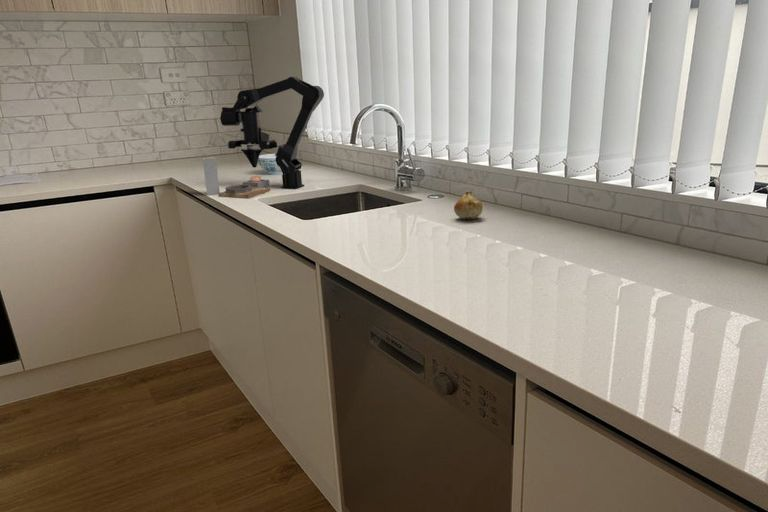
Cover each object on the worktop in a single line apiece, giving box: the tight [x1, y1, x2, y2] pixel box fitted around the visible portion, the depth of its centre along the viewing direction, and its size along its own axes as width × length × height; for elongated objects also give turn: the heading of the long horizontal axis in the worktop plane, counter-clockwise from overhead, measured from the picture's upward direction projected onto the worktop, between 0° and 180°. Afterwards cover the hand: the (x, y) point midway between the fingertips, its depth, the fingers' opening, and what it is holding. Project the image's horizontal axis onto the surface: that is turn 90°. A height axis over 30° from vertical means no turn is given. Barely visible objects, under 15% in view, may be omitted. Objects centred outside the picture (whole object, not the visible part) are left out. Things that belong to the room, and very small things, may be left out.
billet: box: [202, 156, 221, 196], centre depth 208 cm, size 4×4×13 cm
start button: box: [249, 175, 262, 182], centre depth 219 cm, size 4×4×2 cm
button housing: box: [242, 178, 270, 188], centre depth 219 cm, size 7×7×2 cm
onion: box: [453, 189, 483, 220], centre depth 159 cm, size 8×8×8 cm
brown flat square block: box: [218, 184, 271, 199], centre depth 207 cm, size 13×13×3 cm
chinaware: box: [257, 153, 283, 176], centre depth 250 cm, size 15×15×8 cm
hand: (254, 167), depth 217 cm, fingers closed
